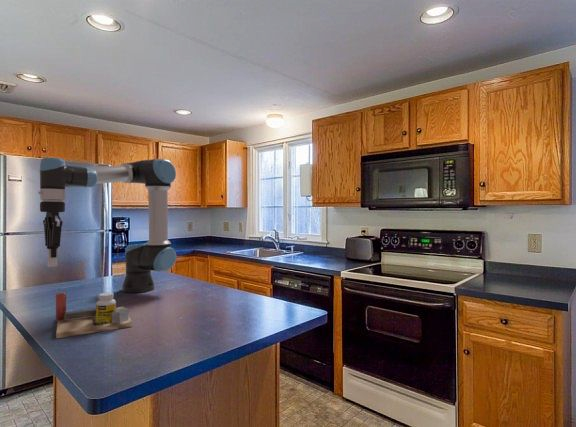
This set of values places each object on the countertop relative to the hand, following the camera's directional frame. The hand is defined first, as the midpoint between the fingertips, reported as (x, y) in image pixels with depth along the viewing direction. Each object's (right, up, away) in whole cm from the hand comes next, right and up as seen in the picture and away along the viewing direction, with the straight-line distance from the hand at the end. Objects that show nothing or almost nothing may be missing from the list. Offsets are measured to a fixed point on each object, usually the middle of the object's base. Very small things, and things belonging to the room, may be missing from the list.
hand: (52, 266), depth 128 cm
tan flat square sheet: (+16, -20, -1) cm, 25 cm away
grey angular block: (+27, -20, -4) cm, 34 cm away
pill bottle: (+21, -20, -3) cm, 30 cm away
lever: (+12, -18, -1) cm, 21 cm away
